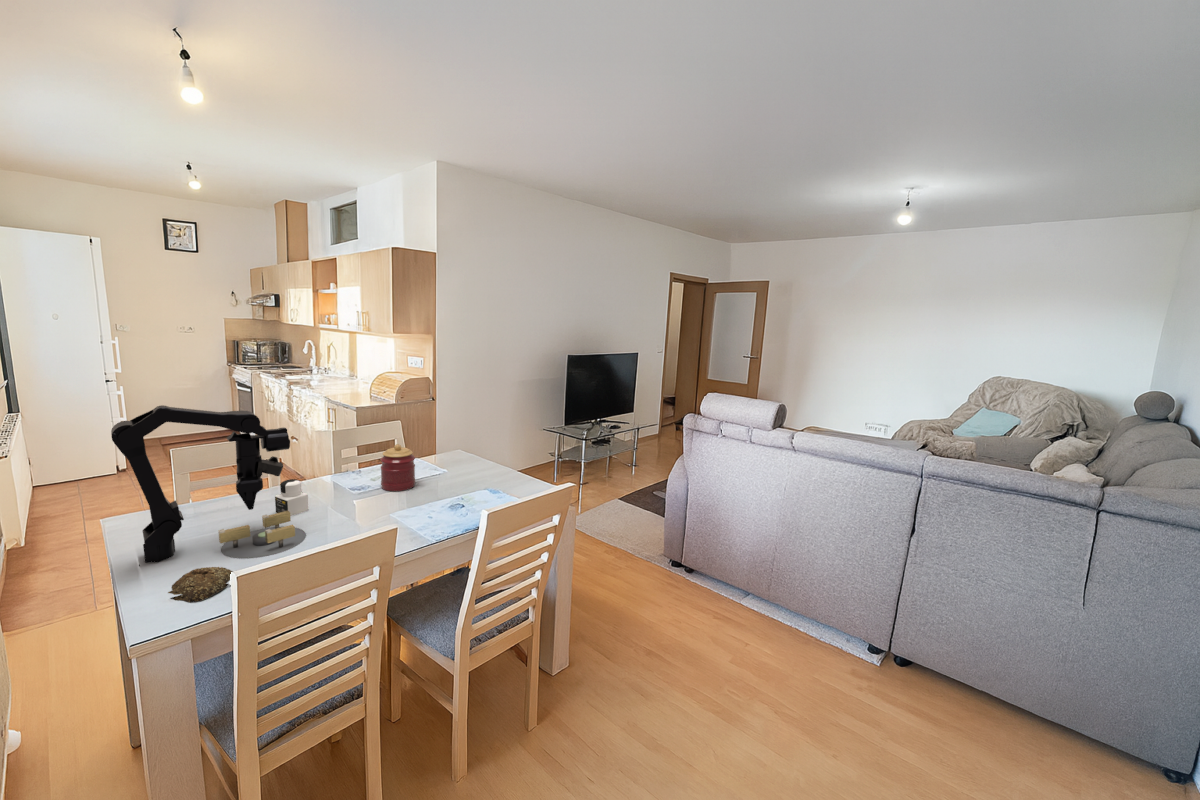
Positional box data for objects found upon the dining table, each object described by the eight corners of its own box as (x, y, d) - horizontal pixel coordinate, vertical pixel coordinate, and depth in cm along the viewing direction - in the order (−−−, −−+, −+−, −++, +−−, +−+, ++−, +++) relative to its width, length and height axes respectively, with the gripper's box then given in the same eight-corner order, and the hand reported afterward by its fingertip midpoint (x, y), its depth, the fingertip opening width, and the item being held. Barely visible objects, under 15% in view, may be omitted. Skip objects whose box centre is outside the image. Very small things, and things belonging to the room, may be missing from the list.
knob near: (295, 543, 145) (294, 525, 144) (268, 551, 139) (267, 532, 138) (293, 541, 146) (292, 523, 145) (266, 549, 141) (264, 530, 140)
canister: (383, 481, 204) (382, 440, 201) (416, 480, 208) (415, 439, 205) (379, 492, 191) (378, 449, 189) (414, 490, 195) (414, 448, 192)
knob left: (251, 544, 143) (249, 525, 142) (221, 551, 138) (219, 532, 137) (249, 542, 144) (248, 523, 143) (219, 549, 139) (218, 530, 138)
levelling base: (285, 562, 137) (284, 550, 136) (203, 563, 134) (202, 550, 133) (318, 529, 157) (317, 519, 157) (247, 530, 154) (246, 519, 154)
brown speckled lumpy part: (244, 578, 128) (242, 560, 128) (203, 605, 116) (201, 585, 115) (198, 574, 129) (196, 556, 128) (152, 600, 117) (150, 581, 116)
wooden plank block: (291, 528, 154) (290, 510, 153) (265, 535, 149) (264, 517, 148) (288, 526, 155) (287, 509, 154) (263, 533, 150) (262, 515, 149)
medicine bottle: (275, 515, 166) (273, 481, 164) (296, 508, 172) (295, 476, 170) (288, 520, 163) (286, 486, 161) (309, 513, 169) (307, 480, 167)
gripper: (282, 459, 142) (284, 510, 144) (278, 443, 157) (280, 490, 159) (234, 463, 135) (237, 517, 138) (235, 447, 150) (238, 495, 152)
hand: (250, 504), depth 147 cm, fingers open, 9 cm apart
